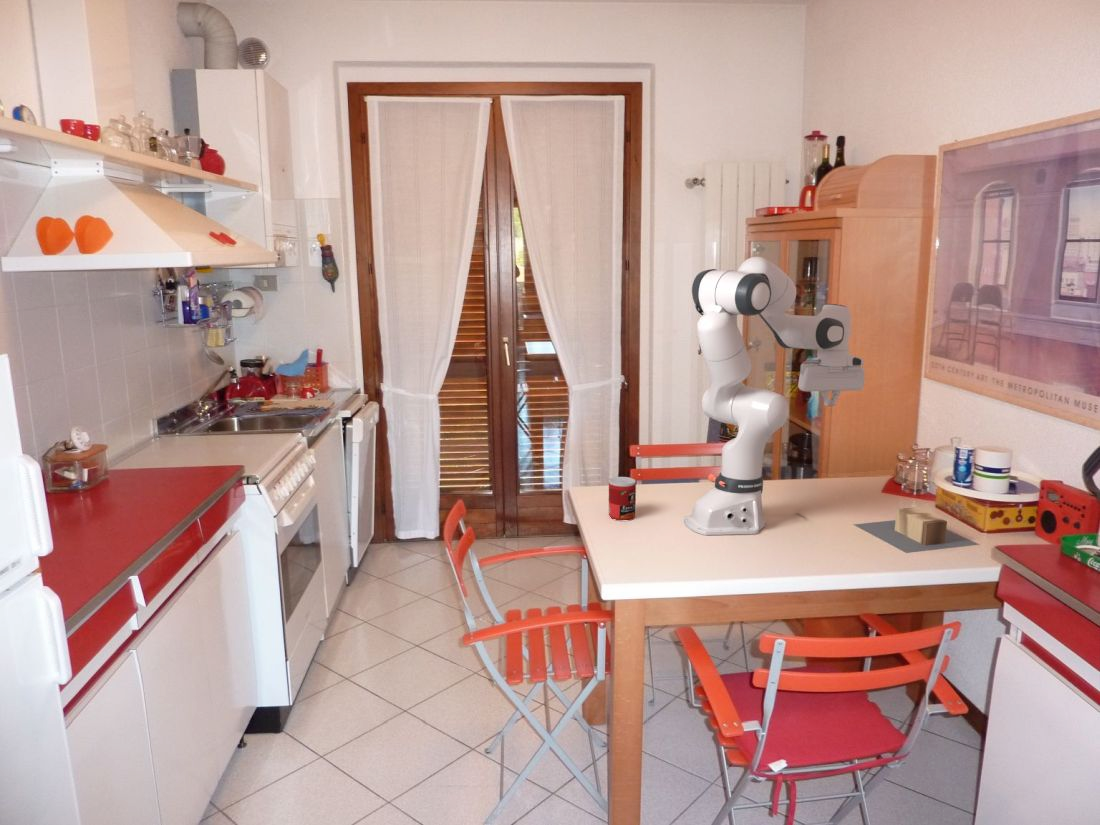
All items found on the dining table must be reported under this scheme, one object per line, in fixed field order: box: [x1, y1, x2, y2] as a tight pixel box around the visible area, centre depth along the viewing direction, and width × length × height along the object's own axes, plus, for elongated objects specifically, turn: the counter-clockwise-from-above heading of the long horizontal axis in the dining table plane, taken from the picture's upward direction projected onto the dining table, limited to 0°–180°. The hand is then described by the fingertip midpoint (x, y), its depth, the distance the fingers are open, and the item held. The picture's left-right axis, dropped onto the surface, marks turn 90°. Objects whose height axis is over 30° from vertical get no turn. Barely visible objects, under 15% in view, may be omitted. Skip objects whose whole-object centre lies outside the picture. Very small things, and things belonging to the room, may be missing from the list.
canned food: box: [608, 476, 637, 521], centre depth 231 cm, size 8×8×11 cm
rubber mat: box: [852, 519, 980, 554], centre depth 215 cm, size 22×22×1 cm
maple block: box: [894, 506, 948, 546], centre depth 212 cm, size 6×6×12 cm
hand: (829, 405), depth 239 cm, fingers closed
